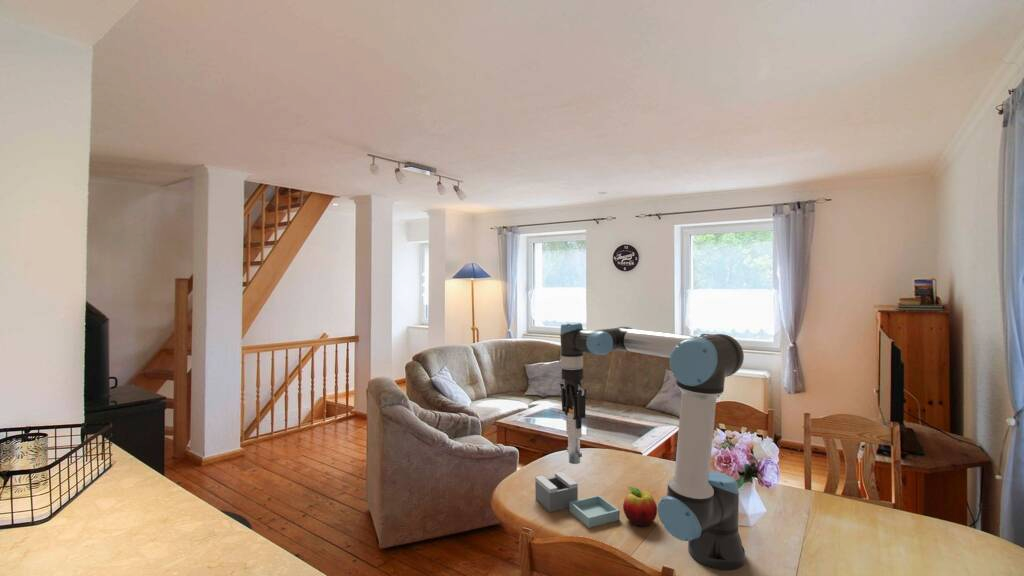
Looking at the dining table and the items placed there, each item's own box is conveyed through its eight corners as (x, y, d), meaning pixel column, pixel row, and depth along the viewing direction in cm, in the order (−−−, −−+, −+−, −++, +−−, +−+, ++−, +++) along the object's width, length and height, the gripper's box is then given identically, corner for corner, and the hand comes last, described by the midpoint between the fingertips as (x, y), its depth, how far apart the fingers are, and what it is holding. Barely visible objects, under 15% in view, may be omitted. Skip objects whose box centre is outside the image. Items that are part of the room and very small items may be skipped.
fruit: (637, 533, 150) (637, 501, 150) (616, 517, 160) (616, 487, 160) (664, 525, 155) (664, 494, 155) (641, 510, 165) (641, 481, 164)
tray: (619, 519, 158) (619, 510, 158) (588, 527, 154) (588, 518, 154) (599, 504, 169) (598, 495, 169) (569, 511, 165) (569, 501, 165)
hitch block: (577, 505, 168) (577, 483, 168) (549, 512, 164) (549, 489, 164) (562, 492, 178) (561, 471, 178) (535, 498, 174) (535, 476, 174)
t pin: (585, 464, 163) (583, 410, 163) (575, 466, 161) (573, 412, 161) (574, 457, 170) (572, 406, 169) (564, 459, 168) (562, 407, 168)
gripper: (595, 370, 159) (597, 441, 159) (568, 363, 174) (570, 427, 175) (576, 372, 156) (577, 444, 156) (550, 365, 171) (552, 430, 172)
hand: (573, 435), depth 165 cm, fingers closed on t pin, 4 cm apart
